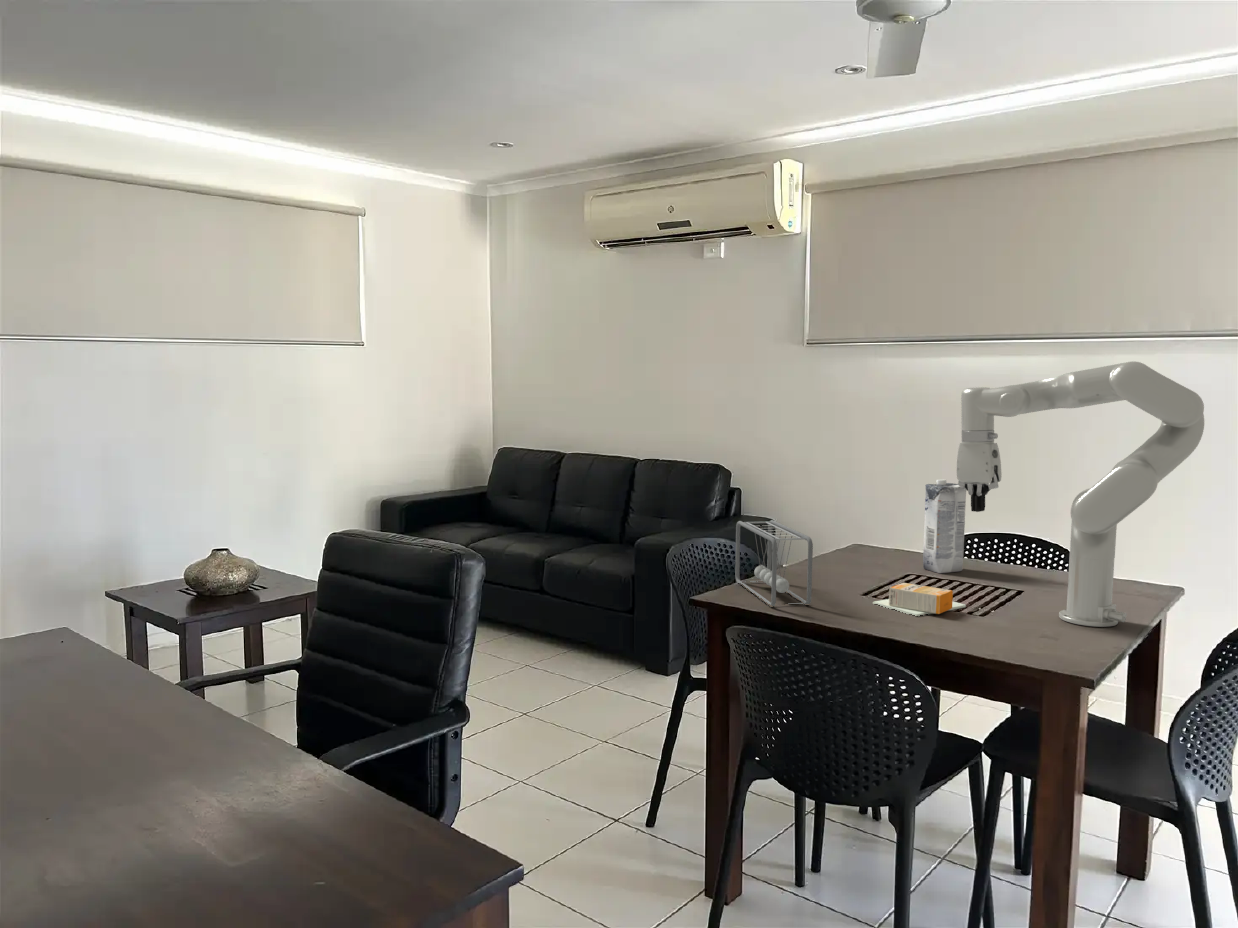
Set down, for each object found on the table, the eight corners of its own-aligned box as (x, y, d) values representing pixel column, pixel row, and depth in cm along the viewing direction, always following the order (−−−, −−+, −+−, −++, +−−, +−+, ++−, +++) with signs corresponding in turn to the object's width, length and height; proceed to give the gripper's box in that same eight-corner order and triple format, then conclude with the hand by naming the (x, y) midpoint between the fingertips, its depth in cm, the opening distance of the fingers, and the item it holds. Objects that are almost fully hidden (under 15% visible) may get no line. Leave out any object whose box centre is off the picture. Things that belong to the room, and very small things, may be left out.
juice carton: (967, 571, 273) (971, 481, 270) (939, 574, 269) (942, 482, 266) (945, 565, 281) (949, 477, 278) (918, 568, 277) (921, 479, 274)
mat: (965, 607, 232) (965, 604, 232) (916, 616, 223) (916, 614, 223) (921, 595, 244) (921, 593, 244) (872, 604, 235) (872, 601, 235)
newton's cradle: (734, 582, 259) (735, 519, 257) (770, 580, 261) (771, 518, 259) (772, 609, 229) (773, 539, 227) (811, 607, 231) (813, 537, 229)
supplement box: (940, 595, 222) (888, 586, 230) (939, 614, 222) (888, 605, 231) (953, 589, 228) (902, 581, 237) (952, 608, 228) (902, 600, 237)
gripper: (1014, 437, 224) (1014, 512, 226) (961, 436, 237) (961, 507, 238) (995, 439, 220) (995, 515, 222) (942, 437, 233) (943, 509, 234)
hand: (978, 510), depth 230 cm, fingers closed
